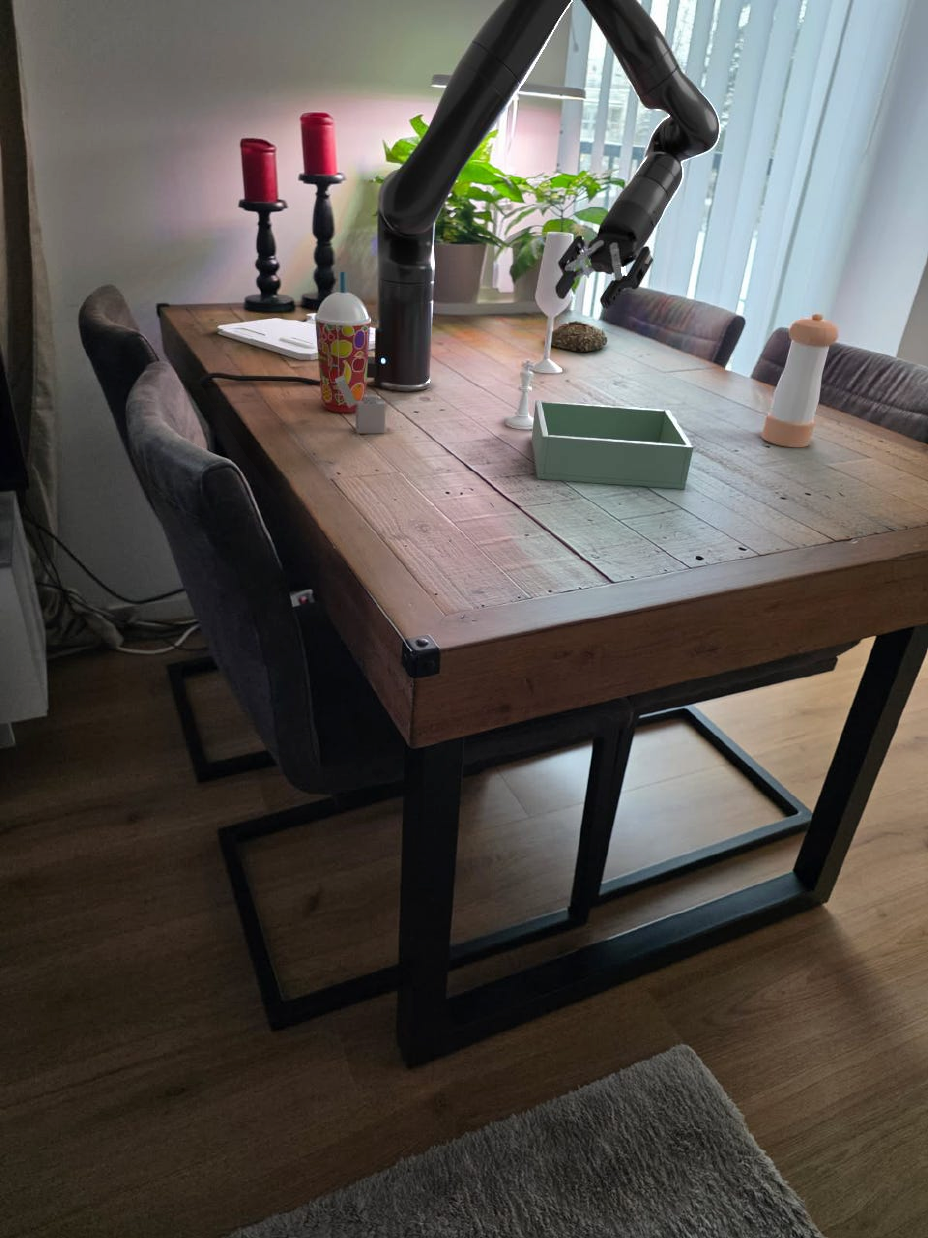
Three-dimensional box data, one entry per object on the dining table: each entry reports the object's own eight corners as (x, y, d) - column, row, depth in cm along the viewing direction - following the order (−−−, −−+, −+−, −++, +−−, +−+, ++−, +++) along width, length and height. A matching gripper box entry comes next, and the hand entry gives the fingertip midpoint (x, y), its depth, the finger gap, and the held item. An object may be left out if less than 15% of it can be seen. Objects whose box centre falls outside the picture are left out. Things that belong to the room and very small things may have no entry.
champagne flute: (523, 369, 163) (536, 232, 151) (533, 362, 168) (547, 230, 156) (556, 375, 161) (573, 237, 149) (566, 367, 166) (583, 234, 154)
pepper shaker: (785, 449, 131) (820, 319, 121) (751, 434, 136) (782, 309, 127) (818, 445, 134) (855, 318, 124) (784, 430, 139) (816, 308, 130)
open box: (537, 478, 112) (542, 436, 110) (531, 438, 127) (535, 400, 124) (684, 489, 113) (693, 447, 110) (662, 448, 127) (669, 410, 124)
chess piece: (535, 431, 130) (542, 364, 125) (503, 427, 131) (509, 361, 126) (539, 422, 134) (546, 357, 129) (508, 418, 135) (514, 353, 130)
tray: (213, 332, 172) (212, 324, 171) (318, 317, 191) (318, 310, 191) (304, 361, 157) (304, 352, 156) (409, 342, 176) (409, 334, 176)
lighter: (383, 429, 126) (384, 374, 122) (385, 433, 125) (386, 378, 121) (335, 429, 124) (334, 374, 120) (336, 433, 123) (336, 378, 119)
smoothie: (318, 399, 137) (315, 266, 127) (370, 401, 138) (371, 269, 128) (314, 414, 130) (311, 274, 120) (369, 416, 131) (371, 278, 121)
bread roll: (613, 346, 187) (617, 322, 184) (589, 355, 177) (593, 330, 175) (561, 336, 192) (564, 313, 190) (535, 344, 183) (538, 320, 180)
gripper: (589, 193, 134) (536, 275, 132) (667, 202, 126) (611, 290, 124) (603, 229, 140) (553, 308, 138) (679, 240, 132) (626, 324, 130)
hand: (580, 299), depth 131 cm, fingers open, 8 cm apart
